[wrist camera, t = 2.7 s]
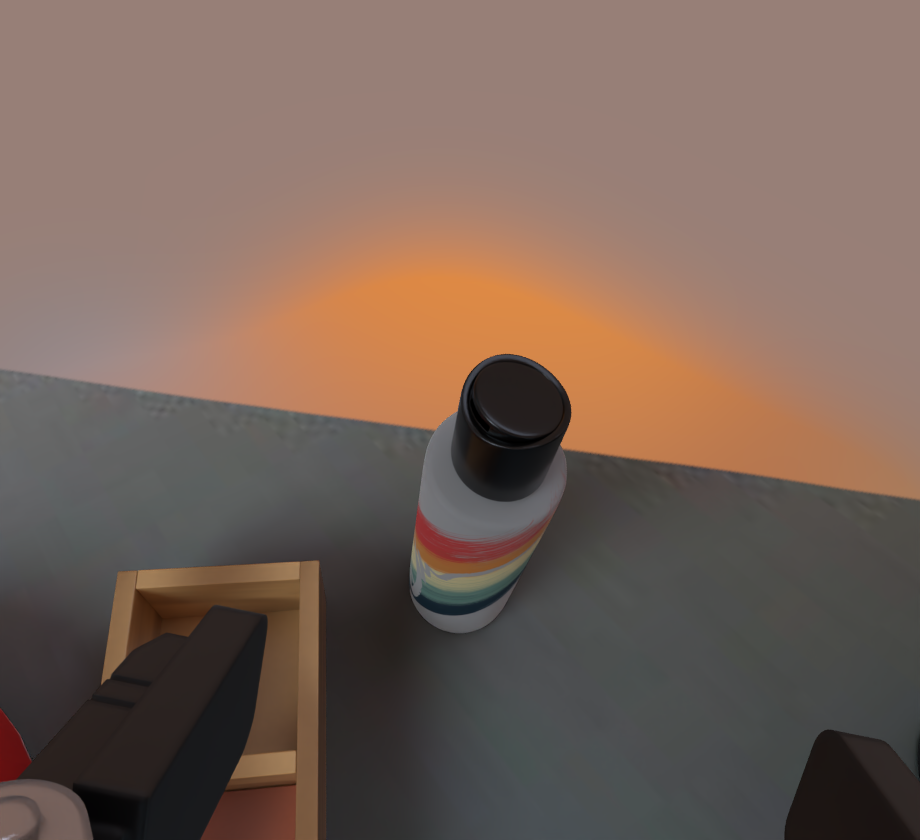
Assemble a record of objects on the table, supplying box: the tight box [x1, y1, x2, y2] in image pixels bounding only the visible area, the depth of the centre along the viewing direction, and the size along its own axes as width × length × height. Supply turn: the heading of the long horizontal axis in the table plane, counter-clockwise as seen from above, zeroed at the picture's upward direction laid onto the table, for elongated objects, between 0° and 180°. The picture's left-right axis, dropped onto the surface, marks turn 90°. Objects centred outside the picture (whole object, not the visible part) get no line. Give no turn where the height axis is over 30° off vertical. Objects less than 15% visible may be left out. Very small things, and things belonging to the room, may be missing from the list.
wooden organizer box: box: [101, 560, 326, 840], centre depth 32 cm, size 9×18×6 cm, turn 6°
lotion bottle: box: [409, 354, 571, 633], centre depth 32 cm, size 6×6×20 cm
